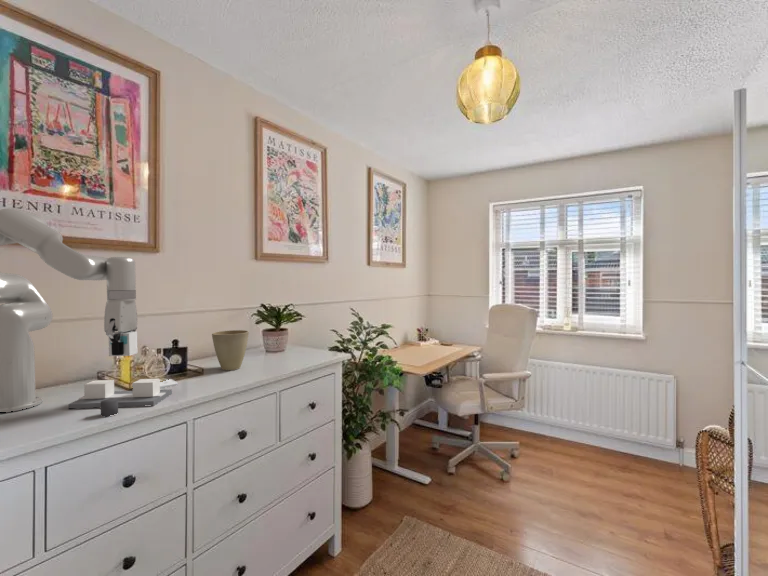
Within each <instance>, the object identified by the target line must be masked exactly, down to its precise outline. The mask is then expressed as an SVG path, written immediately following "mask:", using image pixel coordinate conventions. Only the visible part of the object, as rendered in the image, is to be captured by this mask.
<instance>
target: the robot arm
mask: <svg viewBox="0 0 768 576" xmlns="http://www.w3.org/2000/svg"><path fill="white" fill-rule="evenodd" d="M63 241H64V237H63V235H62V234H61V233H60V232H59V231H57V230H55V229H53V228H51V227H50V226H49V225H48V223H47V221H46V219H45V218H43V217H42V216H40V215H38V214H36V213H33V212H28V211H24V210H20V209H15V208H1V209H0V246H7V245H13V244H19V245H21V246H22V247H24V248H27V249H28V250H30V251H31V252H34V253H35V254H37V255H38V256H39V258H40V259H41V260H42V261H43V262H44V264H46V265H47V266H49V267H51V268H53V269H54V270H56V271H58V272H60V273H61V274H63V275H65V276H67V277H69V278H71V279H74V280H78V281H106V303H105V306H104V307H105V308H104V317H103V318H104V319H103V320H104V321H103V329H104V330H103V331H104V333H105V335H106V336H107V337H108V339H109V338H110V342H111V344H112V355H123V354H124V342H122V337H123V332H137V330H138V309H137V305H136V301H137V286H136V285H137V283H136V281H137V280H136V277H137V276H136V275H137V274H136V261H135V259H134V258H133V257H129V256H128V257H127V256H112V257H111V256H110V257H102V256H95V255H85V254H82V253H81V252H79V251H77V250H74V249H73V248H71V247H70V246H68V245H66V244H65V243H63ZM53 317H54V316H53V311H52V309H51V307H50V305H49V304H48V303H47V301H46V299H44V297H43V296H42V294H41V293H40V292H39V291H38V289H37V288H36V286H35V285H34V284H33V283H32V282H31V281H30V280H29V279H28V278H26V277H25V276H23V275H20V274H17V273H7V272H6V273H5V272H1V271H0V412H6V413H12V412H11V411H13V412H18V411H22V409H23V410H26V408H27V409H30V408H33V406H34V407H35V406H38V405H40V404H42V403H43V398H42V397H41V396H37V395H36V360H35V358H36V357H35V345H34V344H35V343H34V341H33V339H32V337H31V335H30V332H35V331H39V330H40V331H41V330H43V329H45V328H46V327H48V326H49V325H50V324H51V323H52V321H53ZM115 334H119V336H117V335H115ZM41 402H42V403H41Z"/></svg>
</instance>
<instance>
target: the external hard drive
mask: <svg viewBox="0 0 768 576" xmlns="http://www.w3.org/2000/svg"><path fill="white" fill-rule="evenodd" d="M168 379H169V378H168ZM168 379H165V380H166V381H163V382H160V388H162V389H166V388H165V387H167V388H171V387H170V386H172V387H177V386H179V383H178V381H175V380H174V379H172V378H170V379H169V380H168ZM176 385H177V386H176Z"/></svg>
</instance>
